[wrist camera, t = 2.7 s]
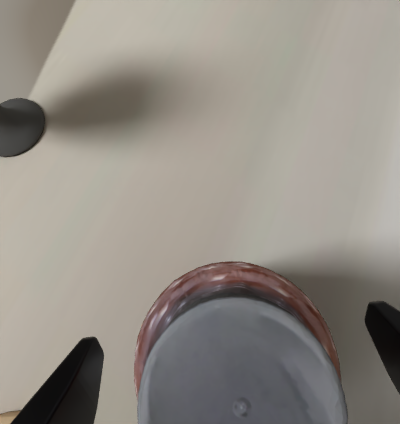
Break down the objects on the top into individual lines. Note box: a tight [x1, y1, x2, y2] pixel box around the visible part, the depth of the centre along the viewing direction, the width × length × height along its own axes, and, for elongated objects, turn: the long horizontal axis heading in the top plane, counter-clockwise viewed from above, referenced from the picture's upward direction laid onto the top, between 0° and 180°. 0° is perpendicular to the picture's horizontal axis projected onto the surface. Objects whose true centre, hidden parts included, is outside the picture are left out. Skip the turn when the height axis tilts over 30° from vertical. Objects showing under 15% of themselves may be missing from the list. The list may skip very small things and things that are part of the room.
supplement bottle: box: [134, 262, 348, 424], centre depth 11 cm, size 6×6×11 cm
